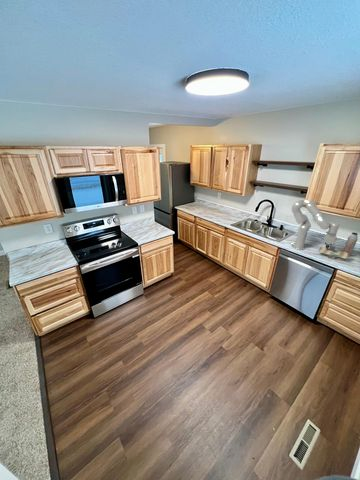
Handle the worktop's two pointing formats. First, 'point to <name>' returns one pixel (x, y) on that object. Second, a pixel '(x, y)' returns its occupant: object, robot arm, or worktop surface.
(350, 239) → the thermos bottle
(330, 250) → the rider
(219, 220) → the worktop surface
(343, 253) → the beam
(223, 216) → the worktop surface
